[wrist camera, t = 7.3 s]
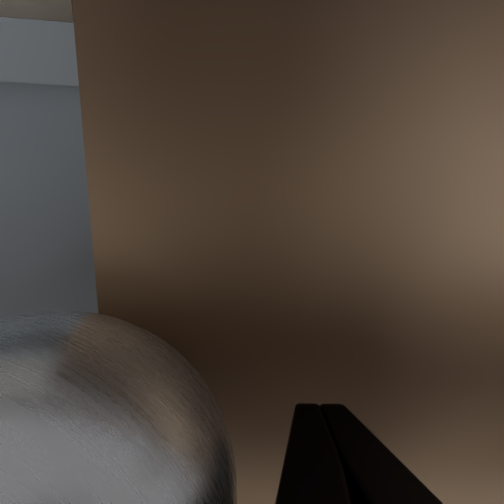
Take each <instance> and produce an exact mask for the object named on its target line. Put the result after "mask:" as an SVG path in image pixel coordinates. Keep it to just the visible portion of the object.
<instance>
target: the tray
mask: <svg viewBox="0 0 504 504" xmlns="http://www.w3.org/2000/svg"><path fill="white" fill-rule="evenodd" d="M60 310H72V311H84V312H91V313H97V314H98V303H97V292H96V280H95V268H94V257H93V245H92V233H91V221H90V210H89V198H88V186H87V175H86V163H85V151H84V140H83V128H82V116H81V104H80V93H79V81H78V69H77V58H76V46H75V34H74V23H71V22H59V21H46V20H33V19H20V18H8V17H0V319H3V318H7V317H11V316H14V315H20V314H26V313H32V312H40V311H60Z"/></svg>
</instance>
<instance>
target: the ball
mask: <svg viewBox="0 0 504 504" xmlns="http://www.w3.org/2000/svg"><path fill="white" fill-rule="evenodd" d="M0 504H237V478H236V465H235V459H234V453H233V448H232V444H231V440H230V436H229V433H228V430H227V426H226V423H225V420H224V418H223V415H222V413H221V411H220V408H219V406H218V404H217V402H216V400H215V399H214V397H213V395H212V393H211V391H210V390H209V388H208V386H207V385H206V383H205V382H204V380H203V379H202V377H201V376H200V375H199V373H198V372H197V371H196V370H195V368H194V367H193V366H192V365H191V364H190V363H189V362H188V361H187V360H186V359H185V358H184V357H183V356H182V355H181V354H180V353H179V352H178V351H177V350H176V349H174V348H173V347H172V346H170V345H169V344H168V343H167V342H165V341H164V340H162V339H161V338H159V337H158V336H156V335H154V334H153V333H151V332H149V331H147V330H145V329H143V328H141V327H139V326H136V325H134V324H132V323H129V322H127V321H124V320H121V319H118V318H115V317H111V316H107V315H102V314H97V313H91V312H84V311H72V310H60V311H40V312H32V313H26V314H20V315H14V316H11V317H7V318H3V319H0Z"/></svg>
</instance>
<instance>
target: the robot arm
mask: <svg viewBox="0 0 504 504" xmlns="http://www.w3.org/2000/svg"><path fill="white" fill-rule="evenodd" d="M275 504H443V503H442V502H441V501H440V500H439V499H438V498H437V497H436V496H435V495H434V494H433V493H432V492H431V491H430V490H429V489H428V488H427V487H426V486H425V485H424V484H423V483H422V482H421V481H420V480H419V479H418V478H417V477H416V476H415V475H414V474H413V473H412V472H411V471H410V470H409V469H408V468H407V467H406V466H405V465H404V464H403V463H402V462H401V461H400V460H399V459H398V458H397V457H396V456H395V455H394V454H393V453H392V452H391V451H390V450H389V449H388V448H387V447H386V446H385V445H384V444H383V443H382V442H381V441H380V440H379V439H378V438H377V437H376V436H375V435H374V434H373V433H372V432H371V431H370V430H369V429H368V428H367V427H366V426H365V425H364V424H363V423H362V422H361V421H360V420H359V419H358V418H357V417H356V416H355V415H354V414H353V413H352V412H351V411H350V410H349V409H348V408H347V407H346V406H345V405H343V404H330V403H323V404H321V405H320V406H319V405H318V404H316V403H298V404H296V405H295V409H294V414H293V419H292V423H291V428H290V433H289V438H288V443H287V448H286V453H285V458H284V462H283V467H282V472H281V477H280V482H279V487H278V492H277V497H276V502H275Z"/></svg>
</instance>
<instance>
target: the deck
mask: <svg viewBox="0 0 504 504" xmlns="http://www.w3.org/2000/svg"><path fill="white" fill-rule="evenodd" d="M72 11H73V23H74V34H75V46H76V58H77V69H78V81H79V93H80V104H81V116H82V128H83V140H84V151H85V163H86V175H87V186H88V198H89V210H90V221H91V233H92V245H93V257H94V268H95V280H96V292H97V303H98V314H102V315H107V316H111V317H115V318H118V319H121V320H124V321H127V322H129V323H132V324H134V325H136V326H139V327H141V328H143V329H145V330H147V331H149V332H151V333H153V334H154V335H156V336H158V337H159V338H161V339H162V340H164V341H165V342H167V343H168V344H169V345H170V346H172V347H173V348H174V349H176V350H177V351H178V352H179V353H180V354H181V355H182V356H183V357H184V358H185V359H186V360H187V361H188V362H189V363H190V364H191V365H192V366H193V367H194V368H195V370H196V371H197V372H198V373H199V375H200V376H201V377H202V379H203V380H204V382H205V383H206V385H207V386H208V388H209V390H210V391H211V393H212V395H213V397H214V399H215V400H216V402H217V404H218V406H219V408H220V411H221V413H222V415H223V418H224V420H225V423H226V426H227V430H228V433H229V436H230V440H231V444H232V448H233V453H234V459H235V465H236V478H237V504H275V502H276V497H277V492H278V487H279V482H280V477H281V472H282V467H283V462H284V458H285V453H286V448H287V443H288V438H289V433H290V428H291V423H292V419H293V414H294V409H295V405H296V404H298V403H316V404H318V405H319V406H320V405H321V404H323V403H330V404H343V405H345V406H346V407H347V408H348V409H349V410H350V411H351V412H352V413H353V414H354V415H355V416H356V417H357V418H358V419H359V420H360V421H361V422H362V423H363V424H364V425H365V426H366V427H367V428H368V429H369V430H370V431H371V432H372V433H373V434H374V435H375V436H376V437H377V438H378V439H379V440H380V441H381V442H382V443H383V444H384V445H385V446H386V447H387V448H388V449H389V450H390V451H391V452H392V453H393V454H394V455H395V456H396V457H397V458H398V459H399V460H400V461H401V462H402V463H403V464H404V465H405V466H406V467H407V468H408V469H409V470H410V471H411V472H412V473H413V474H414V475H415V476H416V477H417V478H418V479H419V480H420V481H421V482H422V483H423V484H424V485H425V486H426V487H427V488H428V489H429V490H430V491H431V492H432V493H433V494H434V495H435V496H436V497H437V498H438V499H439V500H440V501H441V502H442V503H443V504H504V0H72Z"/></svg>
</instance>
